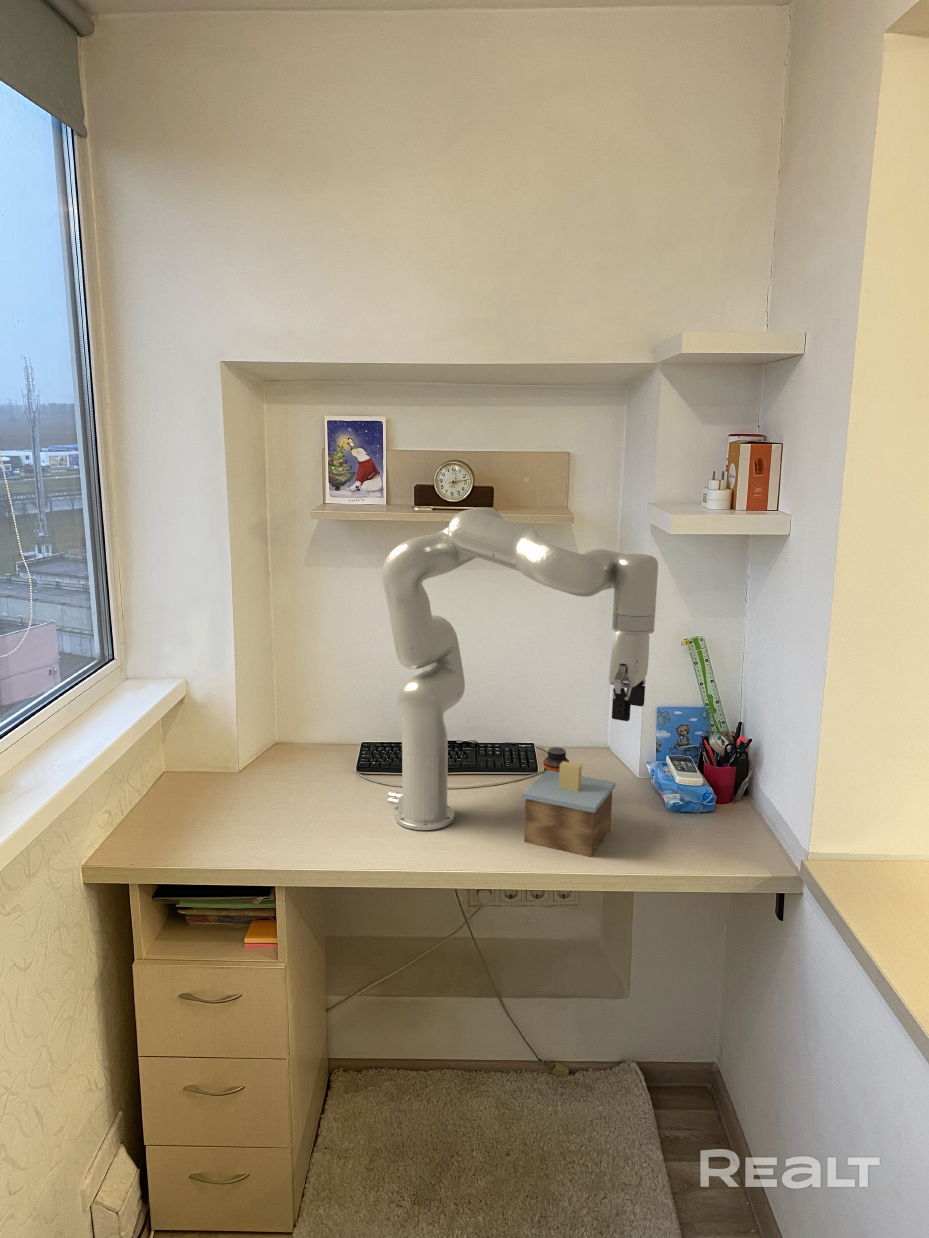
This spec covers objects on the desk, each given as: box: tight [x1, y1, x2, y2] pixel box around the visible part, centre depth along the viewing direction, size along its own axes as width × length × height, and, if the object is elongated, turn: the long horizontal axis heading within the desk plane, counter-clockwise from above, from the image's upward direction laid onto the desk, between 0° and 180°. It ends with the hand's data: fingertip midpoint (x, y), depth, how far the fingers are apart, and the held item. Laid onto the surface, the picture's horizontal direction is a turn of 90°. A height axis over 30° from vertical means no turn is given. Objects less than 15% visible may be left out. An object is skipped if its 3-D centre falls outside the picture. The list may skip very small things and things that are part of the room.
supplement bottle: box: [542, 746, 570, 775], centre depth 194 cm, size 6×6×11 cm
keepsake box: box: [523, 791, 613, 858], centre depth 175 cm, size 14×13×10 cm
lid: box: [522, 761, 616, 813], centre depth 173 cm, size 15×14×6 cm
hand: (628, 712), depth 160 cm, fingers open, 9 cm apart
